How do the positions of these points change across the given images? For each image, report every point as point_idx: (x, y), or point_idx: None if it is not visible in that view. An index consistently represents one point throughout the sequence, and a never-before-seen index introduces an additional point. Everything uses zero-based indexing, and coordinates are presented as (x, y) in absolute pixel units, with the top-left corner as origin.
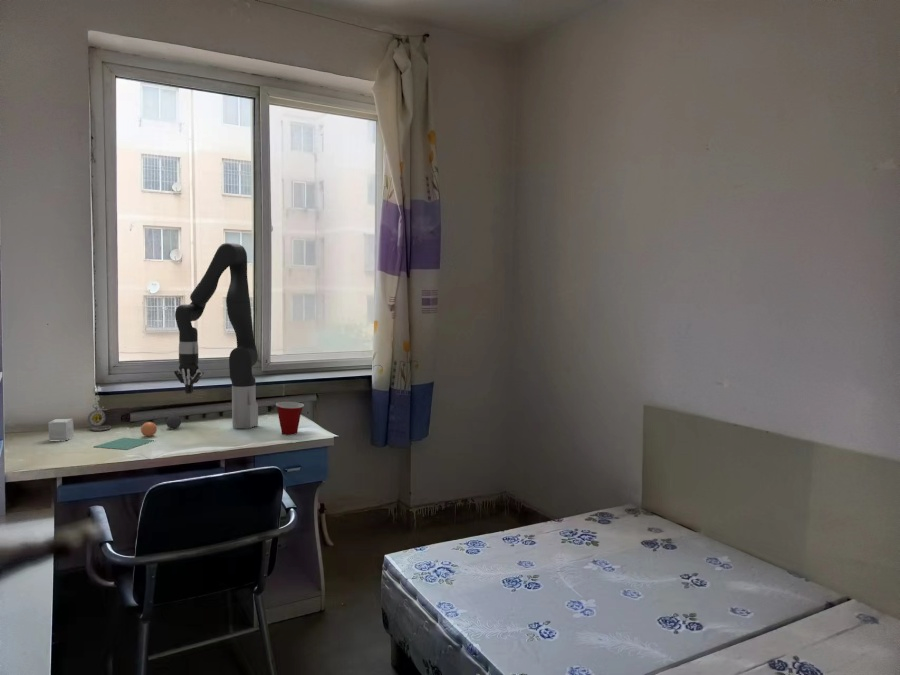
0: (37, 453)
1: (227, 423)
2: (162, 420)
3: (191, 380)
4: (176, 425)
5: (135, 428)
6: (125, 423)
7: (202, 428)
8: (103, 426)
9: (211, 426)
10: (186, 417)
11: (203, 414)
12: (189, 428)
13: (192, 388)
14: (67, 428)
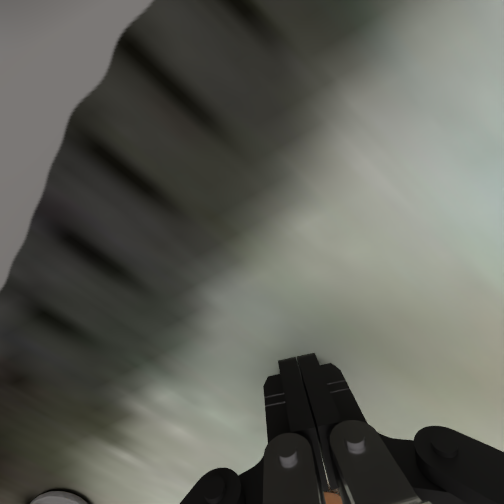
0: None
1: (448, 179)
2: (90, 290)
3: (368, 499)
4: None
5: (152, 445)
6: (17, 408)
7: (411, 320)
8: (35, 501)
9: (420, 271)
10: (122, 174)
11: (126, 52)
12: (357, 346)
13: (351, 398)
14: None
